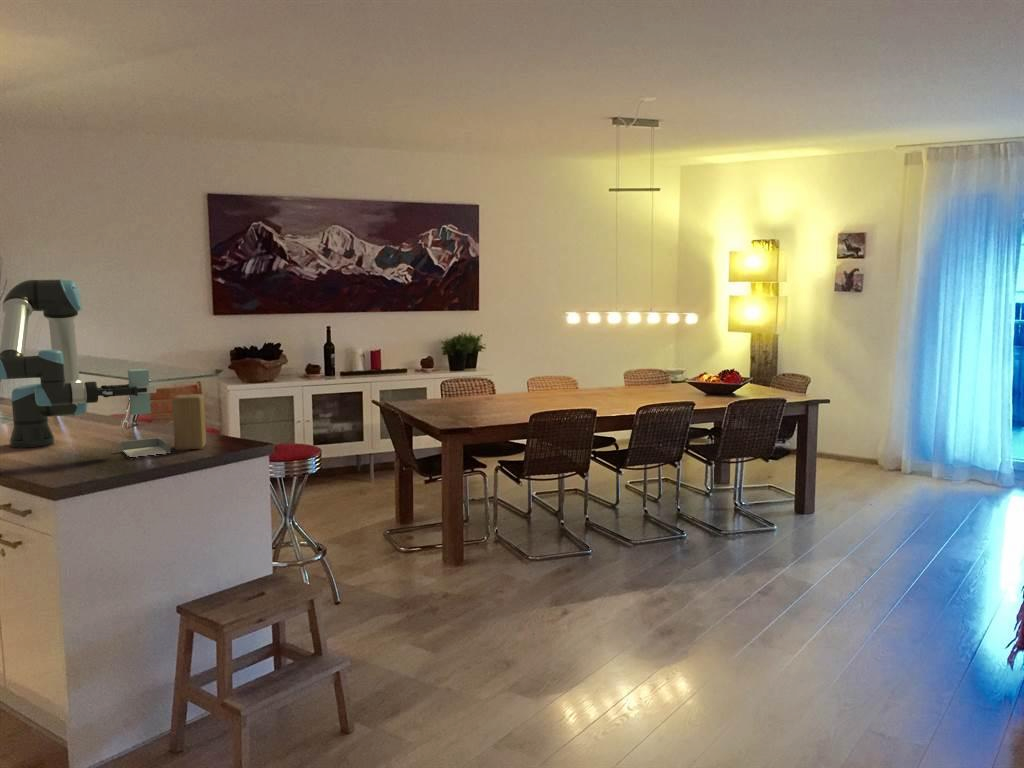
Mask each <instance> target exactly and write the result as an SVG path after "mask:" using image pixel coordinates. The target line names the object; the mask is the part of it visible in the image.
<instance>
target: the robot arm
mask: <svg viewBox="0 0 1024 768" xmlns="http://www.w3.org/2000/svg"><path fill="white" fill-rule="evenodd" d="M81 300H82V299H81V294H80V290H79V287H78V285H77V283H76V281H74V280H71V279H70V280H69V279H28V280H24V281H21V282H19V283H18V284H17V285H15V286H14V287H12V288H11V289H10V290H9V291H8V293H6V295H5V297H4V298H3V301H2V306H1V309H2V312H3V314H4V317H3V325H2V332H1V338H0V380H14V379H15V380H16V379H34V378H35V379H39V378H40V379H39V381H40V383H33V384H27V385H21V386H19V387H16V388H13V390H12V391H11V401H10V402H11V406H12V407H11V408H12V416H13V417H12V419H13V420H12V421H13V426H12V427H13V428H12V432H11V435H10V439H9V446H10V447H11V448H15V447H17V449H19V448H20V449H24V448H26V447H29V448H36V447H37V448H38V447H44V446H48V445H49V444H50V445H53V444H54V443H55V436H54V434H53V431H52V429H51V427H50V424H49V422H48V421H49V417H66V416H67V417H71V416H72V417H74V416H80V415H81V416H82V415H85V414H86V413H87V411H88V405H89V404H93V403H97V402H98V401H99V396H100V397H103V398H109V397H119V396H129V395H135V396H138V395H137V394H145V393H150V394H156V393H157V384H154V385H153V383H152V382H149V386H137V387H129V383H127V384H115V385H114V384H111V385H106V384H105V385H100V387H99V386H98V382H97V381H86V382H85V381H84V379H83V378H81V377H80V371H79V360H78V359H79V358H78V351H77V350H78V349H77V338H76V329H75V327H76V326H75V318H77V316H79V311H81V310H82V308H83V307H82V305H83V304H82V301H81ZM33 312H42V313H43V317H44V318H45V319H46V320H48V326H49V328H48V329H49V336H50V347H51V349H42V350H39V351H38V354H37V355H27V356H26V355H25V354H26V353H25V352H26V343H27V335H28V328H29V327H28V326H29V318H30V317H31V315H32V313H33ZM132 391H133V392H132ZM52 443H53V444H52ZM50 445H49V446H50ZM26 449H27V448H26Z"/></svg>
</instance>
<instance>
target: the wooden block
mask: <svg viewBox="0 0 1024 768" xmlns="http://www.w3.org/2000/svg"><path fill="white" fill-rule="evenodd" d="M171 402H172V416H173V435H174V439H173V440H174V448H175V451H190V450H189V449H198V450H202V449H203V448H204V447H205V446H206V444H207V429H206V411H205V410H206V409H205V396H204V394H202V393H191V394H189V393H188V394H178V395H176V396H175V397H173V398H172V401H171Z"/></svg>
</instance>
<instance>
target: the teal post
mask: <svg viewBox="0 0 1024 768" xmlns="http://www.w3.org/2000/svg"><path fill="white" fill-rule="evenodd" d="M149 372H150V371H149V370H148V369H147V368H136V369H134V368H133V369H127V377H128V379H127V381H128V384H129V387H137V386H149V383H150V373H149ZM132 392H133V391H132ZM137 395H138V396H135V395H128V399H129V409H130V410H129V413H130V414H131V415H132V416H137V415H140V416H141V415H151V414H152V409H151V393H145V394H137Z"/></svg>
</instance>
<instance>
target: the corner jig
mask: <svg viewBox="0 0 1024 768" xmlns="http://www.w3.org/2000/svg"><path fill="white" fill-rule="evenodd" d="M122 451H123V452H124V453H125V454H126V455H127V456H126V455H125V454H124V453H123V452H122ZM121 452H122V453H123V454H124V455H125V456H126V457H128V456H129V457H136V458H139V457H138V456H145V457H148V456H147V455H154V456H157V455H156V454H163V455H167V454H166V453H171V442H169V441H168V440H166V439H165V438H163V437H162V436H159V437H150V438H140V439H139V438H137V439H130V440H122V441H121ZM129 457H128V458H129Z"/></svg>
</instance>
